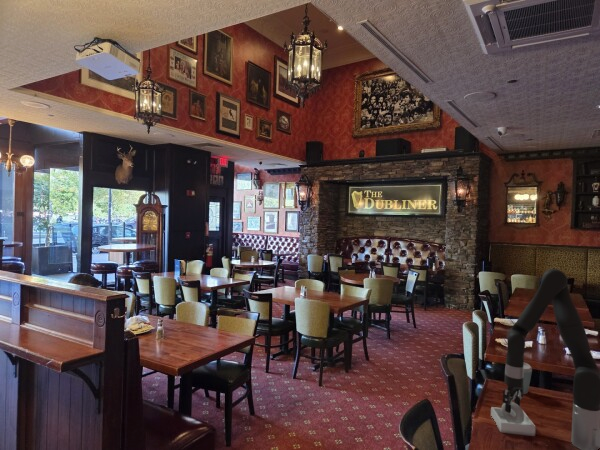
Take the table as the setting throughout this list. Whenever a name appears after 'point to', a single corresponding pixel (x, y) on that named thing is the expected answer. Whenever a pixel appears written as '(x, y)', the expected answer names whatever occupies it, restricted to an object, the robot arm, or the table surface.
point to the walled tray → (512, 428)
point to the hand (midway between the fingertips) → (512, 409)
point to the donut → (518, 411)
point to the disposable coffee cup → (526, 377)
